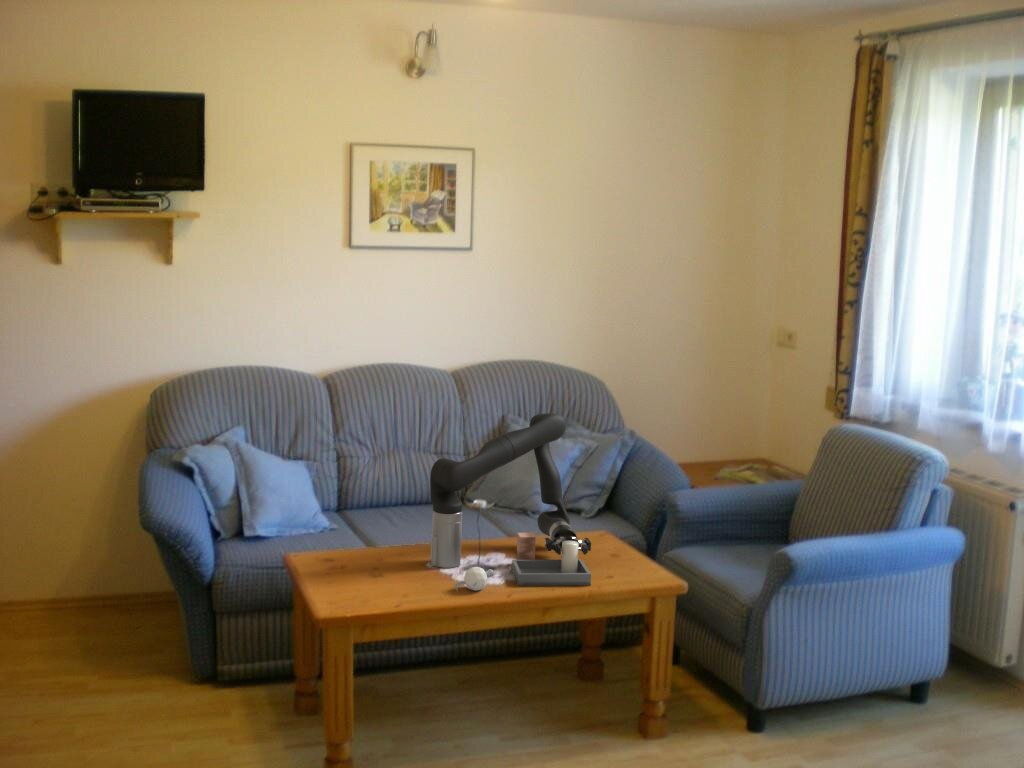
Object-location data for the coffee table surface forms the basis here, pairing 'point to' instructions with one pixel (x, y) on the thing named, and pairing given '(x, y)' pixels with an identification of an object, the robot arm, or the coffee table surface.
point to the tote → (548, 573)
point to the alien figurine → (475, 578)
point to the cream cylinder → (569, 557)
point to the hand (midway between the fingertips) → (572, 551)
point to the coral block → (526, 546)
